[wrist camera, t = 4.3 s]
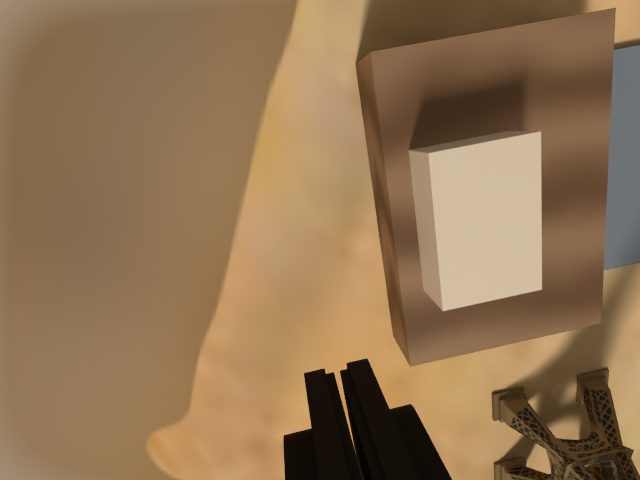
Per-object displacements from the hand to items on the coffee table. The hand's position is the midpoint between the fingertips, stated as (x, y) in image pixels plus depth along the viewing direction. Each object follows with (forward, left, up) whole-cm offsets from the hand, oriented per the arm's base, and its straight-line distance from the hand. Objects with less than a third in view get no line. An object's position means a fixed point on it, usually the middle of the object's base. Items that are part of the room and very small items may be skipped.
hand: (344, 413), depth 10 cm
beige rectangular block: (0, +10, -12) cm, 16 cm away
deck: (0, +12, -18) cm, 22 cm away
